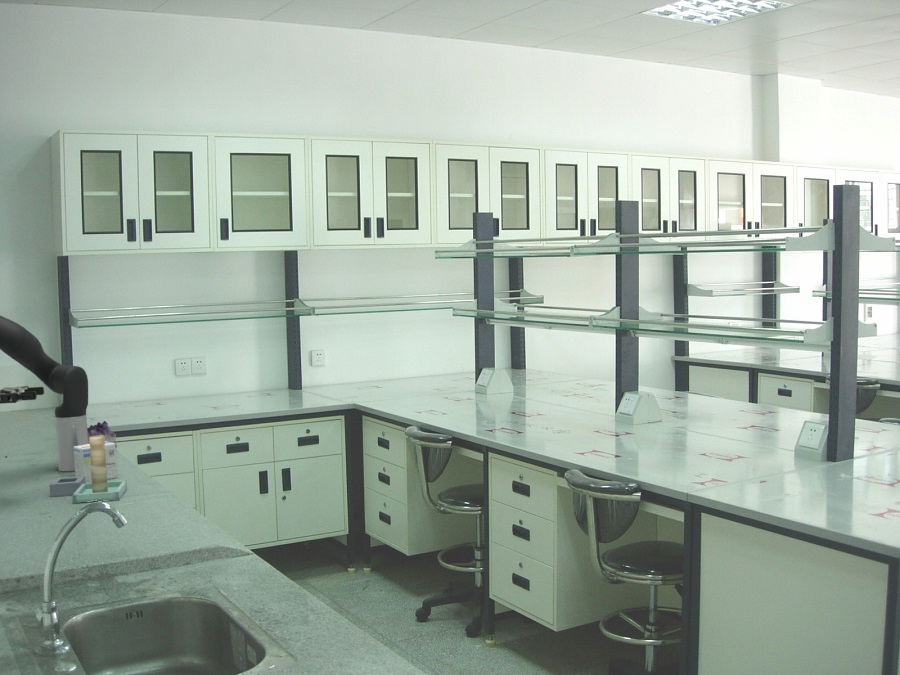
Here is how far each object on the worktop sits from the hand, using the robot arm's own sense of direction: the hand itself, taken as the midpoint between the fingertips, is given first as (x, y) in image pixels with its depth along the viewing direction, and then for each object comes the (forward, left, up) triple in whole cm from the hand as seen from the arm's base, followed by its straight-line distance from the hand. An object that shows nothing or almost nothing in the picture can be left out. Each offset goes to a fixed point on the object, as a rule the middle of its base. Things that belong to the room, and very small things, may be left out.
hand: (40, 393), depth 251 cm
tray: (+2, +15, -30) cm, 33 cm away
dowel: (+2, +15, -29) cm, 32 cm away
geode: (-71, +1, -30) cm, 77 cm away
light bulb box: (-20, +10, -30) cm, 37 cm away
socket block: (-5, +5, -30) cm, 30 cm away
